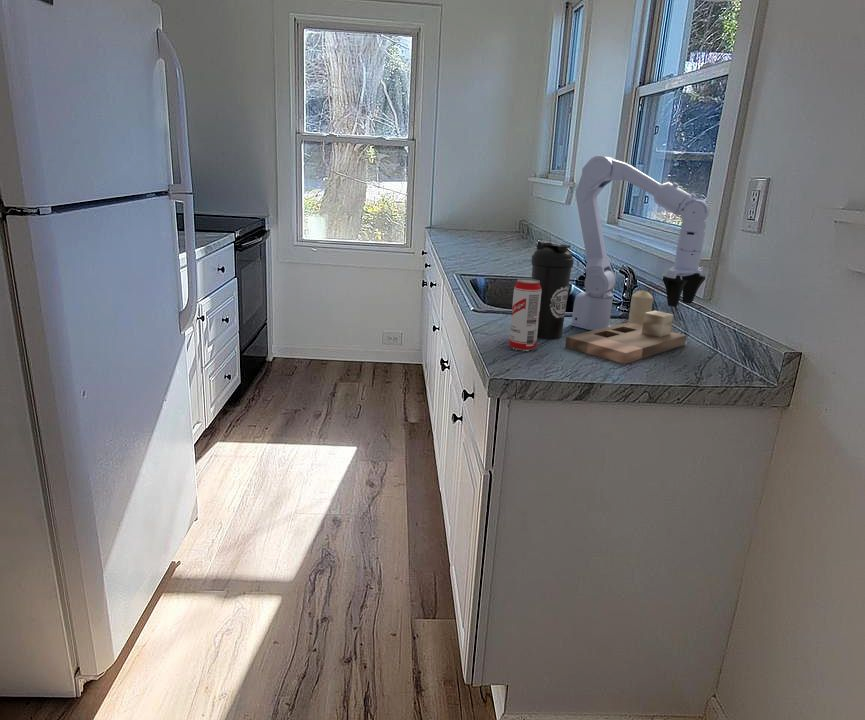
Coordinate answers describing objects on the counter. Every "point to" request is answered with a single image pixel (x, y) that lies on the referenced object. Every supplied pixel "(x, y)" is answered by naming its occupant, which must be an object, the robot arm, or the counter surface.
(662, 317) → the maple block
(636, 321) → the cream domed cylinder
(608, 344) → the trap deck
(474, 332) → the counter surface
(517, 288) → the beer can
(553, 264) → the water bottle
